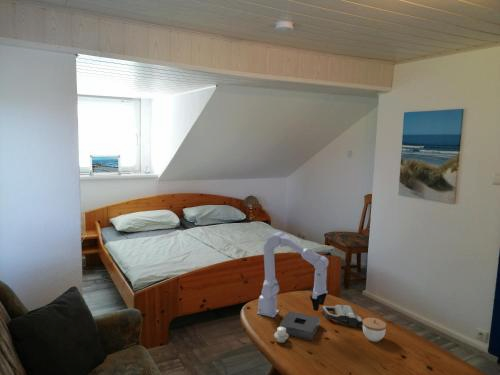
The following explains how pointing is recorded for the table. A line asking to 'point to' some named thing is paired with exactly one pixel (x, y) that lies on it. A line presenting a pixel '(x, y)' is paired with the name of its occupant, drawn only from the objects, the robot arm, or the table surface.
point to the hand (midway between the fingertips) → (318, 307)
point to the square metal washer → (300, 325)
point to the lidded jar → (374, 329)
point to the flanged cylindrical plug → (281, 334)
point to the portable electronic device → (343, 315)
